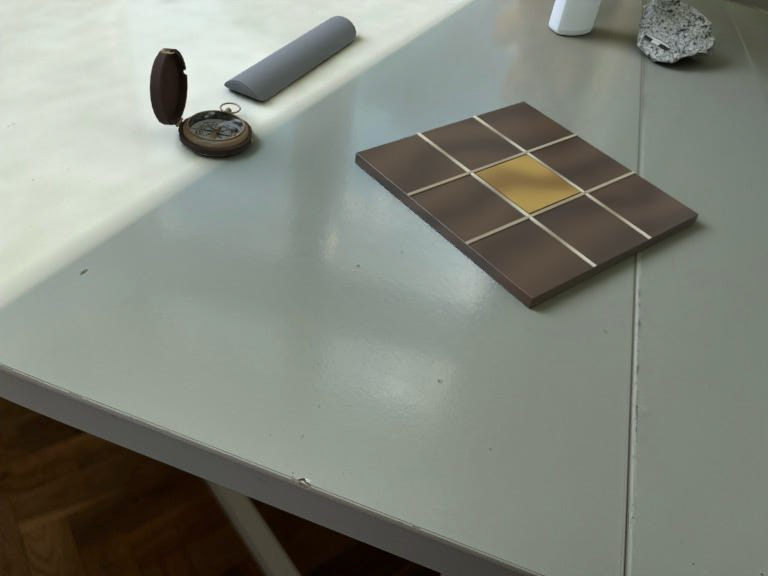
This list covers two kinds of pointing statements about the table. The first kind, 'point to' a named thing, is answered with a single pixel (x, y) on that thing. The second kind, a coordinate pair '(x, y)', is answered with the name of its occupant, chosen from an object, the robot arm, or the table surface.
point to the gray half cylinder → (294, 59)
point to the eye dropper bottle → (573, 16)
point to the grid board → (526, 198)
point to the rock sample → (674, 31)
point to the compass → (202, 129)
